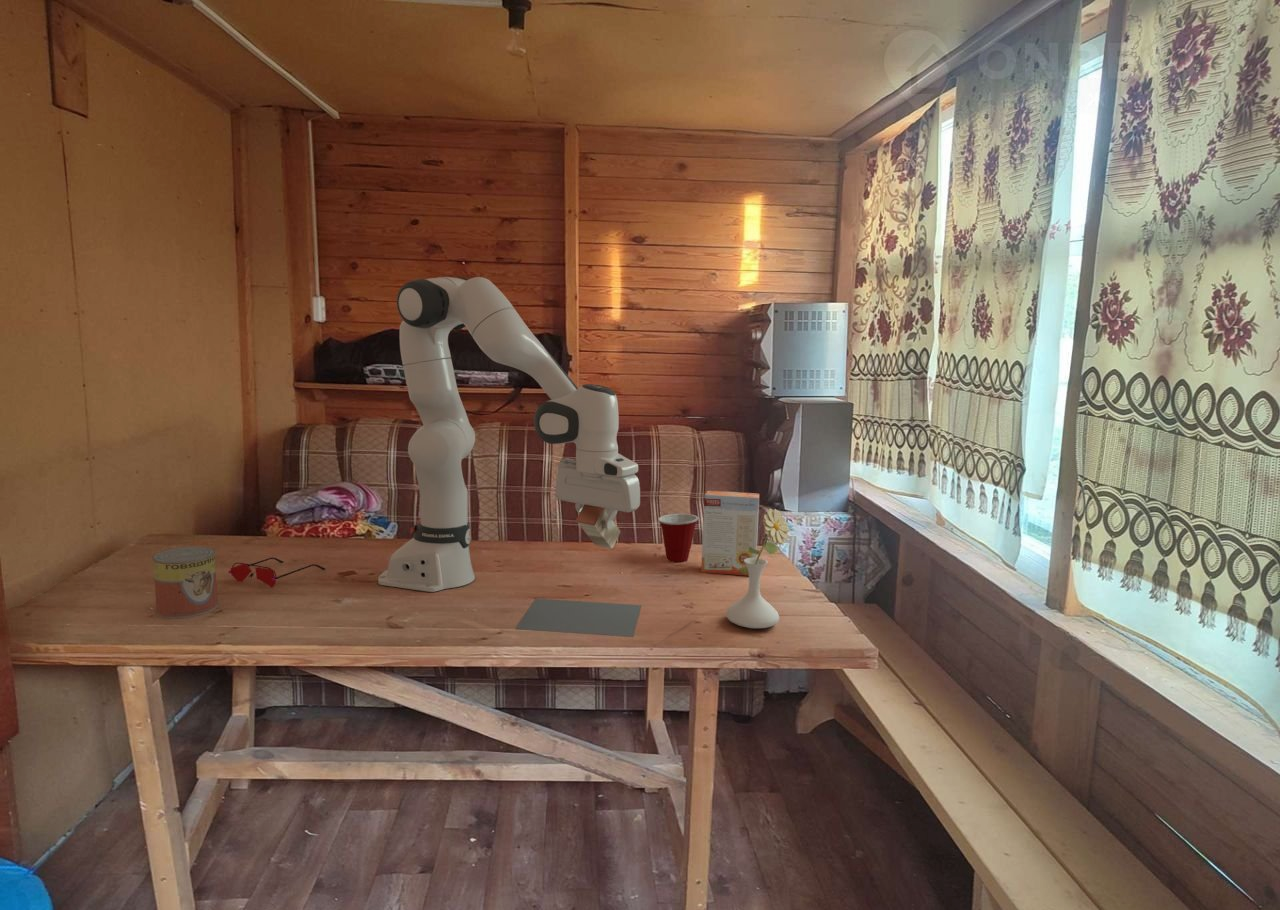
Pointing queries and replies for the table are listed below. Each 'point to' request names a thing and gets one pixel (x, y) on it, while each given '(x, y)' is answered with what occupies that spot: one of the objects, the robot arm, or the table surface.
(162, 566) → the canned food
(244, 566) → the glasses
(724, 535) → the cracker box
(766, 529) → the flower in vase
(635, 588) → the table surface
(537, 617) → the slate mat
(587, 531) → the birch block
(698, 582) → the table surface
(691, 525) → the plastic cup
